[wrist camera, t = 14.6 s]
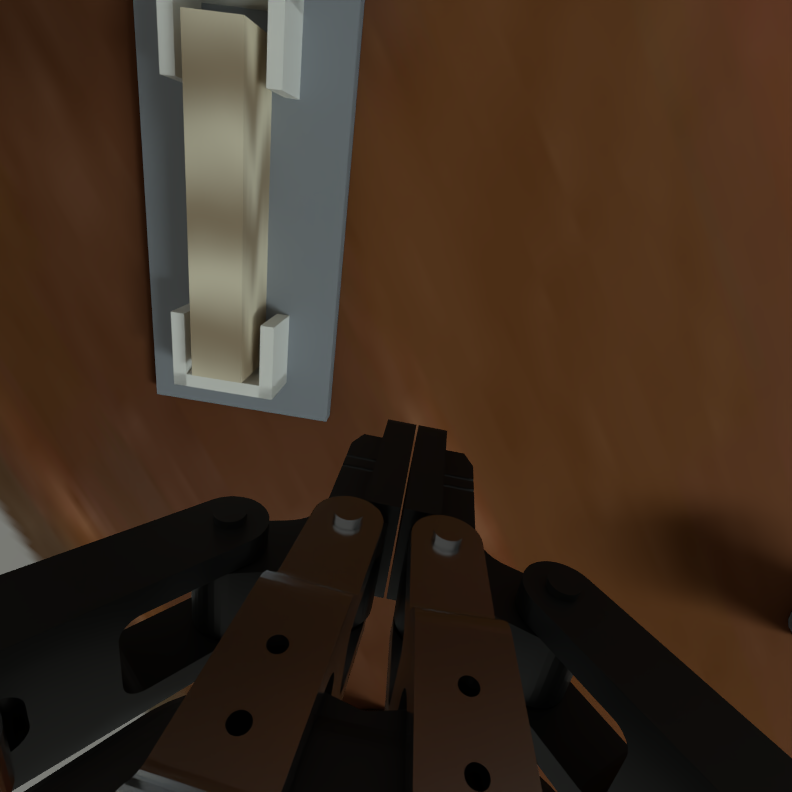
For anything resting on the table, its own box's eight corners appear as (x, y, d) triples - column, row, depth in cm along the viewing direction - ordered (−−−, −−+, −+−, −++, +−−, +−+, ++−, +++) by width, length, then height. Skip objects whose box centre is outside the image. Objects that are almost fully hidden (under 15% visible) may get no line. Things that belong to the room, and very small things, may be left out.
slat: (217, 31, 27) (180, 6, 23) (273, 38, 27) (244, 14, 23) (220, 354, 34) (192, 375, 30) (264, 361, 34) (241, 383, 30)
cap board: (139, -76, 26) (87, -118, 23) (368, -49, 26) (354, -88, 22) (164, 388, 36) (132, 411, 33) (329, 415, 36) (315, 441, 32)
